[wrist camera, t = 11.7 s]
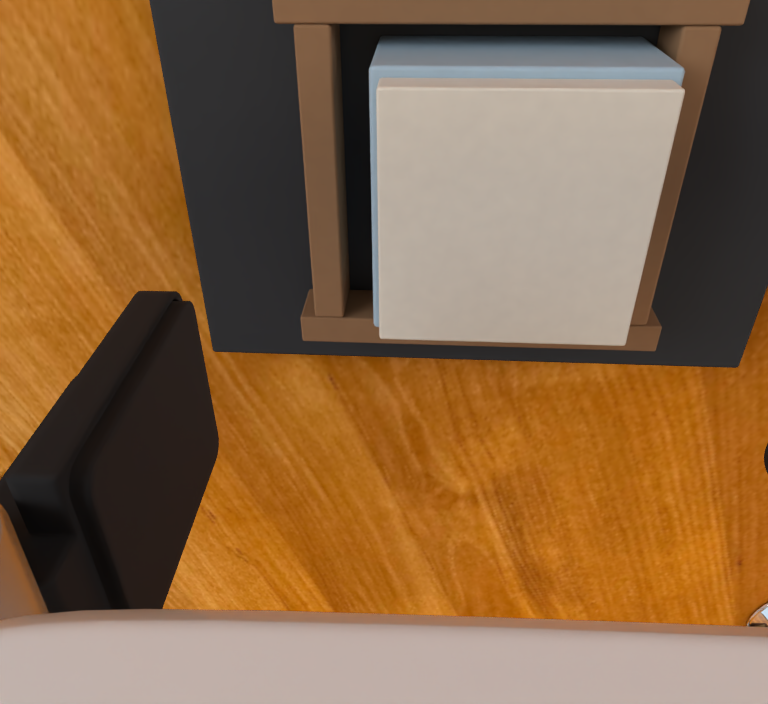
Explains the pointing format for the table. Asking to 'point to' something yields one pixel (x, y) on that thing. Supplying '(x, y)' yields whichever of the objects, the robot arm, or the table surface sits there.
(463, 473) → the table surface
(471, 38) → the upper pad
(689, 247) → the base pad
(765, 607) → the wineglass
